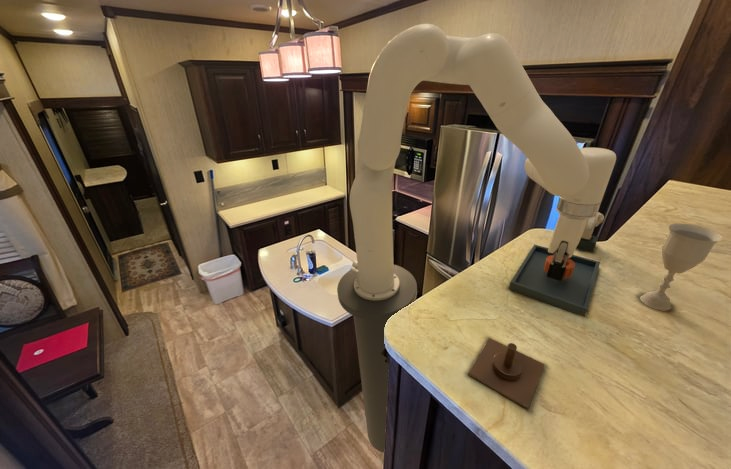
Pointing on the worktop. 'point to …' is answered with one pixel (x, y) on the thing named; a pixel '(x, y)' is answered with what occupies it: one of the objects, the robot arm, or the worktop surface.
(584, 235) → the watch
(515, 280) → the tray
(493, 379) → the stand
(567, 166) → the robot arm
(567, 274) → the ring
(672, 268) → the chalice
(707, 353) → the worktop surface
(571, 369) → the worktop surface
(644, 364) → the worktop surface
